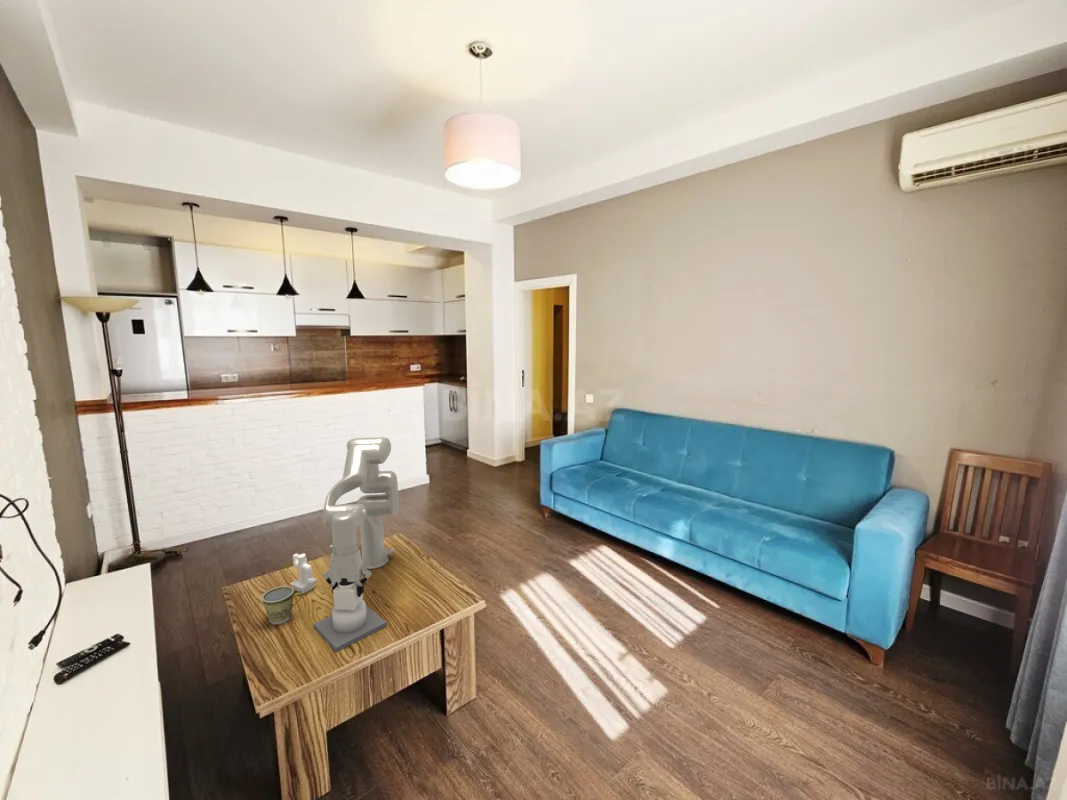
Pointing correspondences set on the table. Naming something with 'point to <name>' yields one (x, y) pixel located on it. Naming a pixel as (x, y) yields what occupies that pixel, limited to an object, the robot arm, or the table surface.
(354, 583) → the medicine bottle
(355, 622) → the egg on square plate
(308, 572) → the figurine
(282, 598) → the ceramic cup
